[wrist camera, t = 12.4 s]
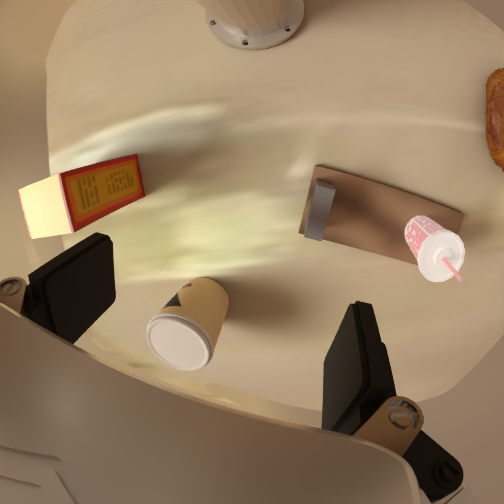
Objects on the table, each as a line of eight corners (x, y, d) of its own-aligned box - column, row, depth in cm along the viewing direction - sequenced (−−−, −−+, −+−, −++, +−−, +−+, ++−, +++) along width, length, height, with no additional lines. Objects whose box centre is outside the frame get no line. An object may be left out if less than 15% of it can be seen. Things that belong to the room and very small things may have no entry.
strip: (315, 164, 34) (316, 170, 29) (461, 212, 32) (481, 226, 27) (298, 231, 38) (296, 247, 33) (439, 269, 36) (454, 289, 31)
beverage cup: (409, 258, 37) (445, 317, 24) (389, 224, 35) (426, 275, 23) (442, 234, 34) (490, 284, 22) (424, 199, 33) (475, 238, 20)
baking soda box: (99, 204, 43) (28, 240, 28) (91, 166, 40) (15, 190, 26) (145, 196, 41) (72, 233, 26) (136, 153, 38) (57, 174, 24)
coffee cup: (191, 261, 43) (155, 304, 33) (245, 293, 44) (223, 345, 33) (171, 302, 48) (137, 347, 37) (218, 331, 48) (195, 382, 37)
